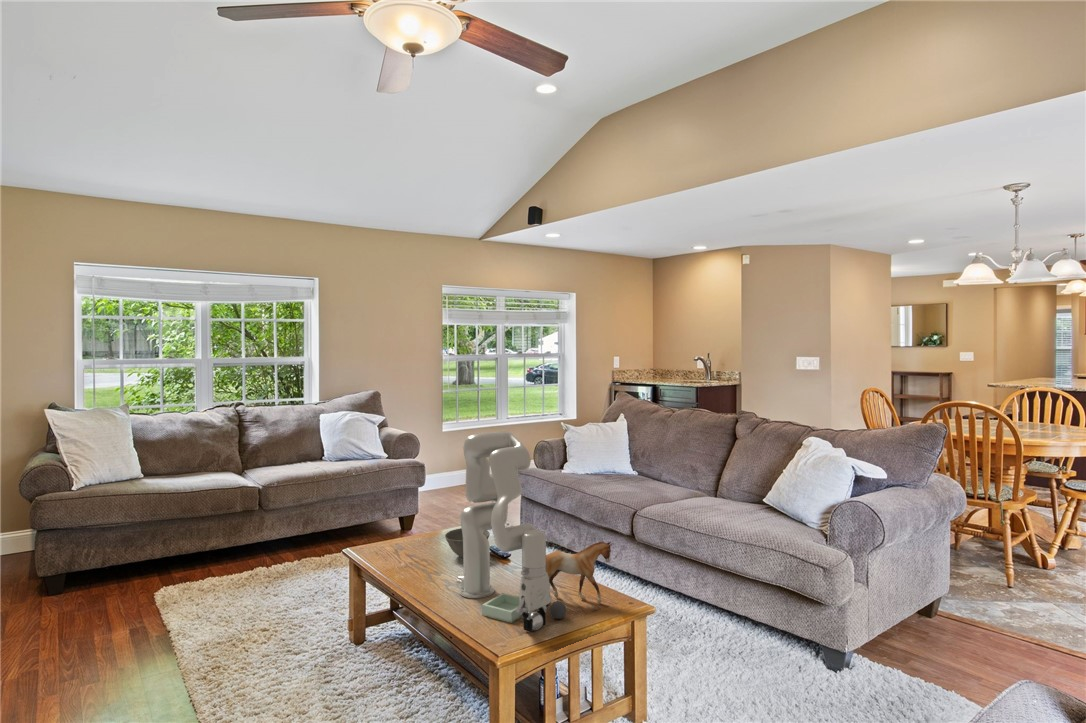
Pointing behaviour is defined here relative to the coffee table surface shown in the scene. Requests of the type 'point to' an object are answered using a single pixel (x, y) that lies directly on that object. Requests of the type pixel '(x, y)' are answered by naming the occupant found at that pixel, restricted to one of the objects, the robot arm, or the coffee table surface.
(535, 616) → the steel ball
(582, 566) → the horse figurine
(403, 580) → the coffee table surface
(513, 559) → the coffee table surface
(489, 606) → the tray
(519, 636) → the coffee table surface
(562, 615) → the rubber ball
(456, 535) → the bowl
